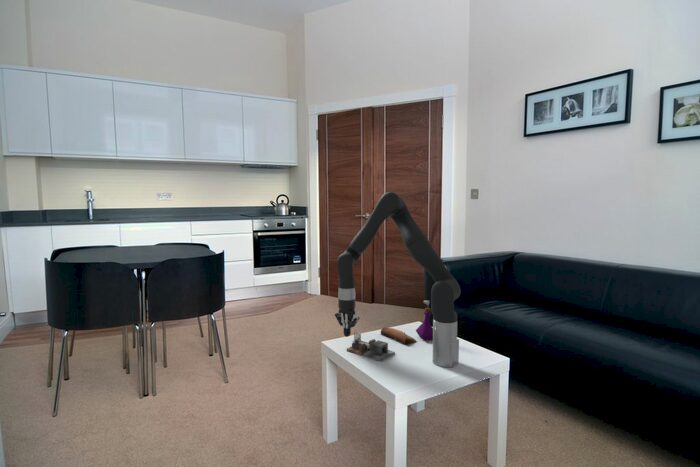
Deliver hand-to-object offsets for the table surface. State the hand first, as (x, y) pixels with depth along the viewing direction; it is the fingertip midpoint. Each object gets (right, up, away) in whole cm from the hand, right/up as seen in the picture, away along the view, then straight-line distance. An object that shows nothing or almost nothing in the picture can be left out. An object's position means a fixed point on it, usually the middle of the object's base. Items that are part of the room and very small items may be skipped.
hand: (347, 335), depth 174 cm
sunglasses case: (+24, -4, +10) cm, 27 cm away
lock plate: (+10, -5, -8) cm, 14 cm away
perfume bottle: (+37, -4, +9) cm, 38 cm away
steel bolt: (+6, -3, -5) cm, 8 cm away
